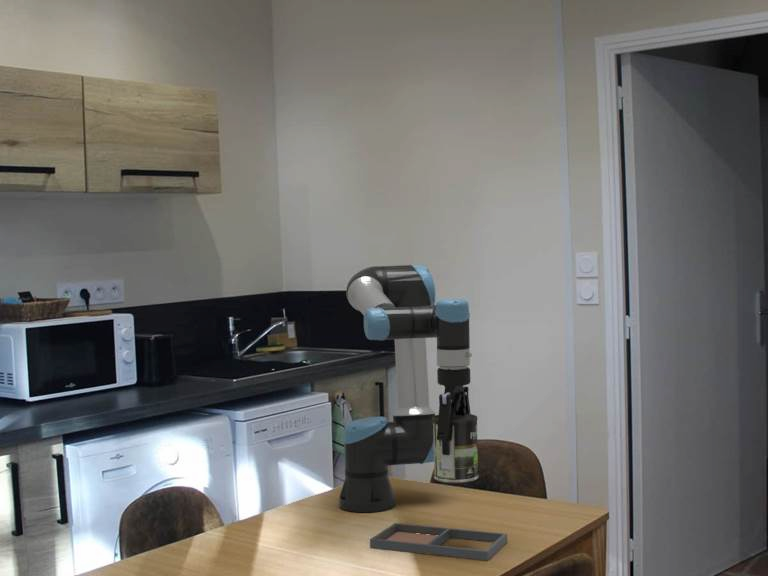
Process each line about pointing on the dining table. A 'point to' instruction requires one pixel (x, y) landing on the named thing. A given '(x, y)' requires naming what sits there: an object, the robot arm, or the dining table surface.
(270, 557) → the dining table surface
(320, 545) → the dining table surface
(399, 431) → the robot arm
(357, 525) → the dining table surface
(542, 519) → the dining table surface
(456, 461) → the coffee can
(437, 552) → the organiser
